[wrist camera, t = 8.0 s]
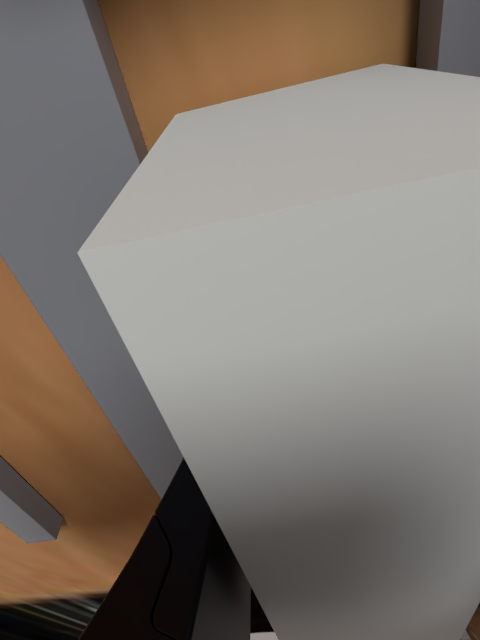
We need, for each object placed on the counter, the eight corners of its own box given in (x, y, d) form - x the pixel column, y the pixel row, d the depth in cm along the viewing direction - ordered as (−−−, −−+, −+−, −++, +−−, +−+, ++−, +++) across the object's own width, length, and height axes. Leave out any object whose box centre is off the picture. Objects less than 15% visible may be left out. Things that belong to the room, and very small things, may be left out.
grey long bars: (551, -334, 5) (612, -404, 4) (424, 469, 17) (434, 490, 16) (-527, 26, 7) (-624, 24, 6) (35, 521, 19) (27, 543, 18)
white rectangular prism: (382, 63, 7) (738, 113, 2) (376, 442, 14) (453, 652, 9) (176, 114, 7) (77, 251, 3) (270, 457, 14) (292, 665, 10)
